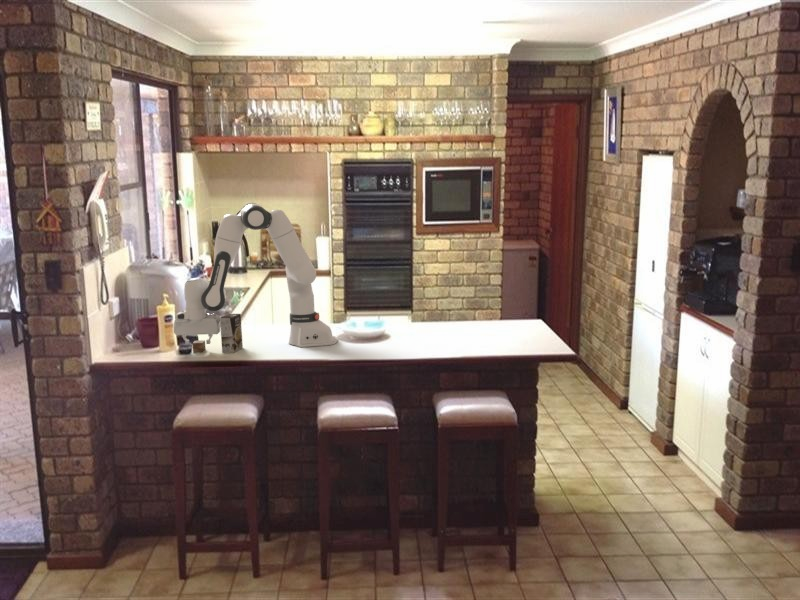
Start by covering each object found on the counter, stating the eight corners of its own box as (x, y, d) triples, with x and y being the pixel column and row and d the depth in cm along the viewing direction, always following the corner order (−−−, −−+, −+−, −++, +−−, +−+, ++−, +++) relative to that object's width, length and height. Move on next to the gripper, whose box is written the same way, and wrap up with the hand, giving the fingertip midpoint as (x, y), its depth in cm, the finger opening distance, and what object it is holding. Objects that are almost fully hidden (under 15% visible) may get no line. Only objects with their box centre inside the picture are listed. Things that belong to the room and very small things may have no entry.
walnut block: (205, 349, 336) (204, 340, 335) (203, 352, 332) (202, 342, 331) (195, 350, 336) (194, 340, 335) (193, 352, 332) (192, 343, 331)
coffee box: (235, 353, 329) (232, 317, 326) (221, 352, 330) (219, 317, 327) (243, 347, 338) (241, 313, 335) (230, 347, 339) (227, 313, 336)
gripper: (220, 312, 334) (222, 341, 336) (175, 312, 333) (177, 342, 336) (217, 314, 327) (219, 345, 330) (171, 315, 327) (173, 346, 330)
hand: (198, 343), depth 333 cm, fingers open, 8 cm apart
